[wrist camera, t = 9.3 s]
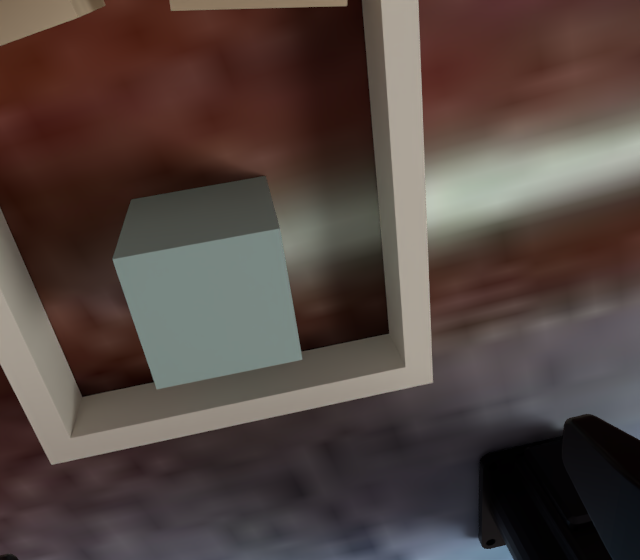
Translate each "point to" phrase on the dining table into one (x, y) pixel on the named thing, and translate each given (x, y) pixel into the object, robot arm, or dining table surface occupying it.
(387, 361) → the tray
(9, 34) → the maple block
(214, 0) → the maple block
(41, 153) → the dining table surface
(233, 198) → the block teal
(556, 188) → the dining table surface
